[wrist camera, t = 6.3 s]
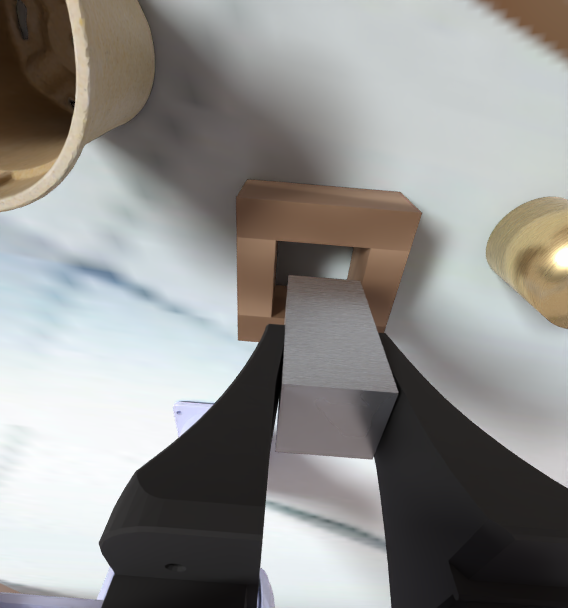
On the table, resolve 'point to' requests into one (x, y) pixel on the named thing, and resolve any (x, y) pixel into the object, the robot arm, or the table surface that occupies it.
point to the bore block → (318, 230)
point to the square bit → (332, 372)
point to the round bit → (535, 255)
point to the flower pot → (66, 86)
